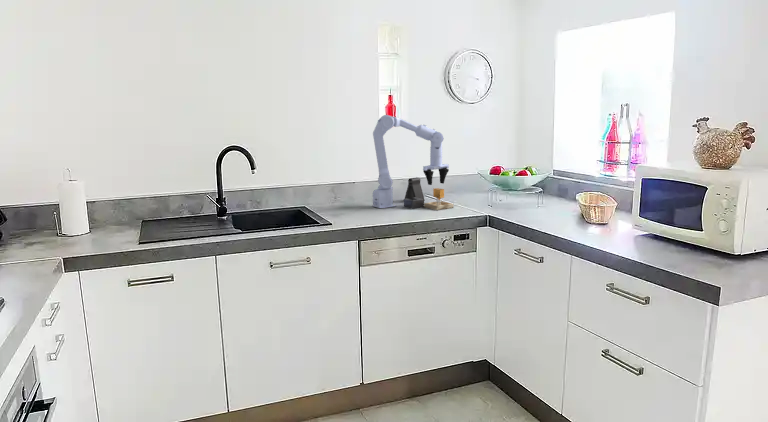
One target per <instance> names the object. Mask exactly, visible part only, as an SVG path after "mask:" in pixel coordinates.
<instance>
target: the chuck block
mask: <svg viewBox="0 0 768 422" xmlns="http://www.w3.org/2000/svg"><path fill="white" fill-rule="evenodd" d="M424 200H425V198H424V199H420V198H416V197H415V198H407V199H403V208H405V209H409V210H416V209H423V208H425V207H424V203H425V201H424Z"/></svg>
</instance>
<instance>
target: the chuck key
mask: <svg viewBox="0 0 768 422" xmlns="http://www.w3.org/2000/svg"><path fill="white" fill-rule="evenodd" d="M432 190H433V192H432V193H433V195H432V196H433V198H435V199H436V201H435V202H436V206H440V205H441V201H442V199H443V198H445V188H440V187H435V188H433V189H432Z"/></svg>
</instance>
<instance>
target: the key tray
mask: <svg viewBox="0 0 768 422" xmlns="http://www.w3.org/2000/svg"><path fill="white" fill-rule="evenodd" d="M454 206H455V205H454V203H451V202H447V201H442V200H441V205H440V206H436V201H429V202H424V208H426V209H429V210H434V211H441V210H442V211H443V210H449V209H454Z"/></svg>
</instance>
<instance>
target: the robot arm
mask: <svg viewBox="0 0 768 422" xmlns="http://www.w3.org/2000/svg"><path fill="white" fill-rule="evenodd" d="M394 127H395V128H398V127H402V128H404V129H406V130H409V131H412V132H414V133H415V135H416V137H418V138H421V139H424V140H426V141H428V142H429V141H430V148H429V151H430V153H429V155H430V156H429V157H430V161H429V162H430V163H429V164H430V165H425V166H424V165H423V166H422V167H423V168H422V170H423V174H424V175H425V178H426V182H427V185H428V186H432V185H433V177H434V173H435V171H433V170H438V173H439V184H443V185H444V183H445V180H446V176H447V174H448V173H449V167H450V165H449V164H448V163H444V164H443V141H444V135H443V134H442V133H441V132H439V131H437V130H436V129H435V128H433V129H432V128H431V127H428V126H427V125H426V124H418V125H416V124H413V123H412V122H410V121H407V120H404V119H403V118H400V117H396V116H393V115H389V114H384V115H382V116H381V117H380V118H379V119H378V120H377V123H376V124H375V127H374V130H373V132H372V137H373V142H374V149H375V155H376V160H377V168H378V179H377V182H378V184H379V185H378V187H377V189H374V190H373V192H372V206H371V207H375V208H378V209H386V208H393V207H397V204H394V202H393V201H394V199H393V198H394V191H393V189H394V188H393V183H394V181H393V178H392V177H391V175H390V170H389V165H388V161H387V159H388V158H387V152H386V148H385V140H384V135H386V133H387V132H388V131H389V130H391V129H392V128H394Z"/></svg>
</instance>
